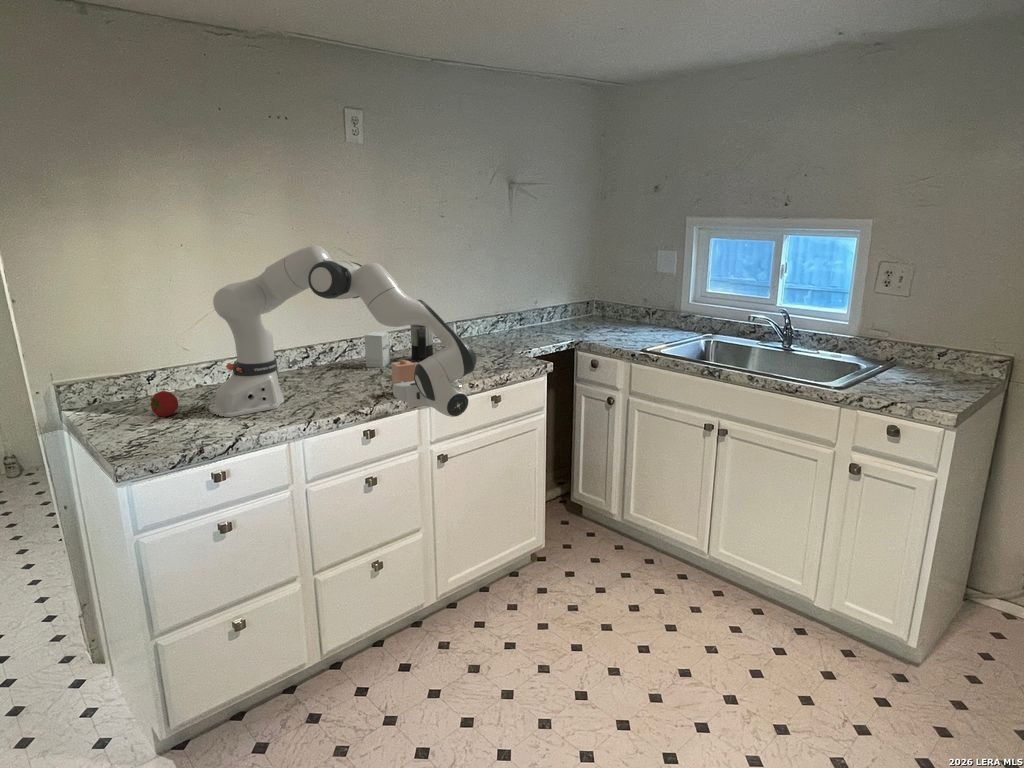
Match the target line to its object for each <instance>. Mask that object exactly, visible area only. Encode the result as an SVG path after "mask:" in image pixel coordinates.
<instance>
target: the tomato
mask: <svg viewBox="0 0 1024 768" xmlns="http://www.w3.org/2000/svg"><path fill="white" fill-rule="evenodd" d="M150 399H151V400H150V403H149V405H150V408H151V411H152V412H153V413H154V415H156V417H161V418H168V417H170V415H171V416H173V415H174V414H175V413H176V411H177V410H178V409H179V401H178V398H177V397H176V395H175V394H174V393H172V392H170V391H165V390H162V391H161V390H160V391H159V392H156V393H154V395H153V396H151V398H150ZM167 416H168V417H167Z"/></svg>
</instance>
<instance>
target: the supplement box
mask: <svg viewBox="0 0 1024 768" xmlns="http://www.w3.org/2000/svg"><path fill="white" fill-rule="evenodd" d="M389 336H390V335H389V332H387V331H384V332H383V331H370V332H369V333H367V334H364V336H363V337H364V339H363V340H364V351H365V353H364V355H365V357H364V358H365V367H368V368H384V367H387V366H388V365H389V364H390V363H391V359H390V340H389V338H390V337H389Z"/></svg>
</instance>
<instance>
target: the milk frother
mask: <svg viewBox="0 0 1024 768" xmlns="http://www.w3.org/2000/svg"><path fill="white" fill-rule="evenodd" d="M410 342H411V346H410V347H411V361H414V362H421V361H423V360H425V359H426V358H428V357H430V356H432V355H434V349H433V332H432V331H431V330H430V329H429V328H427V327H426V326H423V325H410Z"/></svg>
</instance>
